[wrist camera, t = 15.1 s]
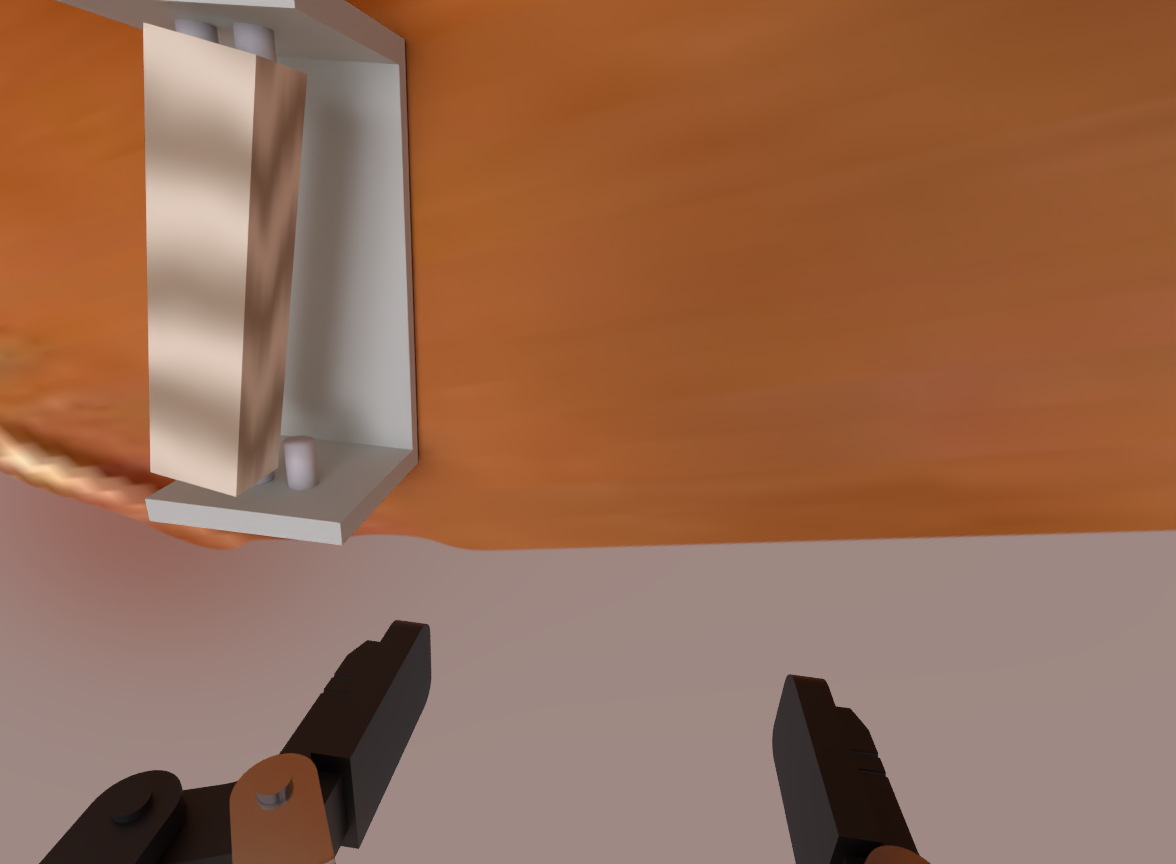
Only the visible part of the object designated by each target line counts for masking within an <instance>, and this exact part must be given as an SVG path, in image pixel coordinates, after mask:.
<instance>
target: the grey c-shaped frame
mask: <svg viewBox="0 0 1176 864" xmlns="http://www.w3.org/2000/svg"><path fill="white" fill-rule="evenodd" d="M56 1H59V2H62V3H65V4H68V5H71V6H74V7H77V8H80V9H83V10H86V11H89V12H92V13H95V14H98V15H101V16H104V17H106V18H109V19H112V20H115V21H118V22H121V23H124V24H127V25H130V26H133V27H136V28H139V29H142V30H143V22H144V23H148V24H151V25H155V26H158V27H161V28H165V29H168V30H172V31H175V32H179V33H182V34H186V35H189V36H193V37H196V38H200V39H203V40H207V41H210V42H213V43H217V44H220V45H224V46H227V47H231V48H234V49H238V50H241V51H245V52H248V53H252V54H255V55H258V56H261V57H263V58H266V59H269V60H271V61H274V62H277V63H280V64H282V65H285V66H288V67H290V68H293V69H296V70H298V71H301V72H304V73H306V74H307V86H306V100H305V113H304V127H303V140H302V153H301V167H300V180H299V194H298V207H297V220H296V234H295V247H294V261H293V274H292V287H291V301H290V314H289V328H288V341H287V354H286V368H285V381H284V395H283V408H282V422H281V435H280V448H279V462H278V468H277V469H275V470H274V471H273V472H271V473H270V474H268V475H267V476H265V477H264V478H262V479H261V480H260V481H258V482H257V483H255V484H254V485H252V486H251V487H250V488H248V489H247V490H245V491H244V492H242V493H241V494H240V495H238V496H237V497H235V496H231V495H228V494H224V493H221V492H217V491H214V490H211V489H207V488H204V487H200V486H197V485H193V484H190V483H186V482H183V481H180V480H177V481H175V482H173V483H171V484H170V485H168V486H166V487H164V488H163V489H161V490H159V491H157V492H156V493H154V494H152V495H150V496H149V497H147V498H145V501H146V505H147V510H148V515H149V519H150V521H155V522H163V523H171V524H179V525H187V526H195V527H202V528H210V529H218V530H226V531H234V532H242V533H250V534H258V535H266V536H273V537H281V538H289V539H297V540H305V541H314V542H321V543H329V544H337V545H343V543H345V541H346V540H347V539H348V538H349V537H350V536H351V535H352V534H353V533H354V532H355V531H356V530H357V528H358V527H359V526H360V525H361V524H362V523H363V522H364V521H365V520H366V519H367V518H368V517H369V515H370V514H371V513H372V512H373V511H374V510H375V509H376V508H377V507H378V506H379V505H380V503H381V502H382V501H383V500H384V499H385V498H386V497H387V496H388V495H389V494H390V493H391V492H392V490H393V489H394V488H395V487H396V486H397V485H398V484H399V483H400V482H401V481H402V480H403V479H404V477H405V476H406V475H407V474H408V473H409V472H410V471H411V470H412V469H413V468H414V467H415V466H416V464H417V463H418V443H417V412H416V380H415V349H414V317H413V286H412V254H411V223H410V192H409V160H408V129H407V97H406V66H405V39H403V38H402V37H400V36H399V35H397V34H396V33H394V32H393V31H391V30H389V29H388V28H386V27H385V26H383V25H382V24H380V23H379V22H377V21H376V20H374V19H373V18H371V17H370V16H368V15H367V14H365V13H363V12H362V11H360V10H359V9H357V8H356V7H354V6H353V5H351V4H350V3H348V2H347V1H345V0H56Z"/></svg>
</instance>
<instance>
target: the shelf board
mask: <svg viewBox="0 0 1176 864" xmlns="http://www.w3.org/2000/svg"><path fill="white" fill-rule="evenodd" d="M143 38H144V99H145V160H146V221H147V281H148V342H149V403H150V464H151V472H152V473H156V474H159V475H162V476H166V477H169V478H173V479H176V480H180V481H183V482H186V483H190V484H193V485H197V486H200V487H204V488H207V489H211V490H214V491H217V492H221V493H224V494H228V495H231V496H235V497H237V496H238V495H240V494H241V493H242V492H244V491H245V490H247V489H248V488H250V487H251V486H252V485H254V484H255V483H257V482H258V481H260V480H261V479H262V478H264V477H265V476H267V475H268V474H270V473H271V472H273V471H274V470H275V469H277V468H278V462H279V448H280V435H281V422H282V408H283V395H284V381H285V368H286V354H287V341H288V328H289V314H290V301H291V287H292V274H293V261H294V247H295V234H296V220H297V207H298V194H299V180H300V167H301V153H302V140H303V127H304V113H305V100H306V86H307V74H306V73H304V72H301V71H298V70H296V69H293V68H290V67H288V66H285V65H282V64H280V63H277V62H274V61H271V60H269V59H266V58H263V57H261V56H258V55H255V54H252V53H248V52H245V51H241V50H238V49H234V48H231V47H227V46H224V45H220V44H217V43H213V42H210V41H207V40H203V39H200V38H196V37H193V36H189V35H186V34H182V33H179V32H175V31H172V30H168V29H165V28H161V27H158V26H155V25H151V24H148V23H144V22H143Z"/></svg>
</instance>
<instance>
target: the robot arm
mask: <svg viewBox="0 0 1176 864" xmlns="http://www.w3.org/2000/svg"><path fill="white" fill-rule="evenodd" d="M430 684H431V647H430V627H429V625H428V624H422V623H415V622H408V621H400V620H395V621H394V622H393V623H392V624H391V626H390V627H389V629H388V631H387V632H386V634H385V635H384V637H383V638H382V640H381V641H380V642H376V641H369V640H367V641H366V642H364V643H363V644H362V645H360V646H359V647H358V648H356V649H355V650H354V651H352V652H351V653H350V654H348V655H347V656H346V658H345V659H344V661H343V662H342V664H341V665H340V667H339V668H338V670H337V671H336V673H335V675H334V678H331V680H330V681H329V683H328V684H327V686H326V687H325V688H324V692H323V693H321V694H320V696H319V697H318V699H317V700H316V702H315V703H314V704H313V706H312V707H311V709H310V710H309V712H308V713H307V715H306V716H305V718H304V719H303V721H302V722H301V724H300V725H299V726H298V728H297V729H296V731H295V732H294V734H293V735H292V737H291V738H290V740H289V741H288V742H287V744H286V745H285V747H284V748H283V750H282V751H281V752H280V754H279V755H275V756H272V757H269V758H267V759H265V760H263V761H261V762H259V763H257V764H256V765H254V766H253V767H251V768H250V769H249V770H248V771H247V772H245V773H244V774H243V776H242V777H241V778H240V779H239V780H238V781H236V782H233V783H228V784H223V785H216V786H209V787H203V788H196V789H189V790H182V786H181V783H180V780H179V779H178V777H176V776H175V775H174V774H172V773H170V772H167V771H162V770H153V771H147V772H142V773H138V774H135V775H132V776H130V777H128V778H126V779H123V780H121V781H119V782H118V783H116V784H114V785H113V786H111V787H110V788H108V789H107V790H106V791H105V792H103V793H102V794H101V795H100V796H99V797H97V798H96V799H95V801H94V802H93V803H92V804H91V805H90V806H89V807H88V808H87V809H86V811H85V812H84V813H83V814H82V815H81V817H79V819H78V820H77V821H76V822H75V823H74V824H73V826H72V827H71V828H70V829H69V830H68V831H67V832H66V833H65V835H64V836H63V837H62V838H61V839H60V840H59V841H58V843H57V844H56V845H55V846H54V847H53V848H52V850H51V851H50V852H49V853H48V854H47V855H46V856H45V858H44V859H43V860H42V861H41V862H40V863H39V864H336V862H335V856H336V854H337V852H338V850H339V848H340V846H345V847H352V848H358V849H359V847H360V845H361V843H362V840H363V839H364V836H365V834H366V832H367V830H368V828H369V826H370V823H371V821H372V819H373V817H374V815H375V813H376V810H377V808H378V806H379V804H380V802H381V799H382V797H383V795H384V793H385V791H386V789H387V787H388V784H389V782H390V780H391V778H392V776H393V774H394V771H395V769H396V767H397V765H398V763H399V760H400V758H401V756H402V754H403V752H404V750H405V747H406V745H407V743H408V741H409V739H410V737H411V735H412V733H413V730H414V728H415V726H416V724H417V722H418V719H419V717H420V715H421V713H422V711H423V709H424V706H425V704H426V701H427V698H428V694H429V690H430ZM772 744H773V757H774V762H775V767H776V771H777V776H778V781H779V786H780V790H781V795H782V800H783V804H784V809H785V814H786V819H787V824H788V828H789V833H790V838H791V843H792V847H793V852H794V857H795V861H796V864H930V863H929V862H927V861H926V860H925V859H924V858H922V857H921V856H920V855H919V853H918V852H917V849H916V846H915V844H914V842H913V839H912V836H911V834H910V832H909V829H908V827H907V824H906V822H905V819H904V817H903V814H902V812H901V809H900V807H899V804H898V802H897V799H896V797H895V794H894V792H893V789H892V787H891V784H890V782H889V779H888V778H887V777H886V775H885V774H886V772H885V770H884V767H883V764H882V762H881V760H880V758H878V752H877V750H876V747H875V745H874V742H873V740H872V737H871V735H870V732H869V730H868V729H867V727H866V726H865V725H864V724H863V723H862V722H861V720H860V719H859V718H858V717H857V716H856V714H855V713H854V712H853V711H852V710H851V709H850V708H843V707H836V706H835V704H834V701H833V698H832V695H831V692H830V689H829V686H828V684H827V682H826V681H825V680H824V679H819V678H812V677H805V676H797V675H788V676H787V677H786V680H785V683H784V688H783V691H782V695H781V699H780V703H779V707H778V711H777V715H776V719H775V723H774V728H773V739H772Z"/></svg>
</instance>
